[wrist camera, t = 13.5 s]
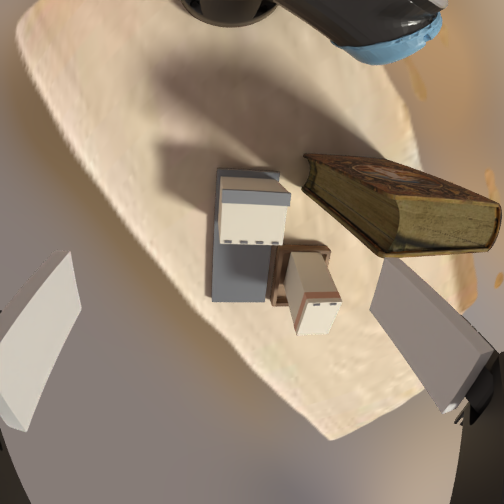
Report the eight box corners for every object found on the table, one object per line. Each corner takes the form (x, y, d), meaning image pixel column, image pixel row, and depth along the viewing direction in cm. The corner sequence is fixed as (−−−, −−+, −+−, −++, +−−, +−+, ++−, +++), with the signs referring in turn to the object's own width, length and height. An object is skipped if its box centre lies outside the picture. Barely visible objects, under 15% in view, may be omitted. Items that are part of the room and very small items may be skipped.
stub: (291, 251, 49) (308, 303, 40) (320, 252, 49) (342, 302, 41) (283, 284, 53) (296, 336, 44) (310, 284, 54) (328, 334, 45)
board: (217, 168, 44) (217, 169, 43) (278, 171, 45) (279, 173, 44) (211, 298, 53) (211, 302, 52) (263, 298, 54) (264, 302, 53)
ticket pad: (219, 176, 43) (222, 189, 35) (276, 179, 44) (291, 193, 37) (217, 222, 46) (219, 245, 38) (271, 224, 47) (284, 247, 40)
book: (392, 159, 46) (505, 204, 24) (388, 191, 49) (493, 251, 26) (300, 153, 44) (389, 194, 22) (298, 188, 47) (378, 259, 24)
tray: (277, 244, 50) (280, 249, 48) (326, 245, 51) (331, 250, 50) (269, 299, 54) (272, 306, 53) (315, 299, 56) (319, 305, 54)
